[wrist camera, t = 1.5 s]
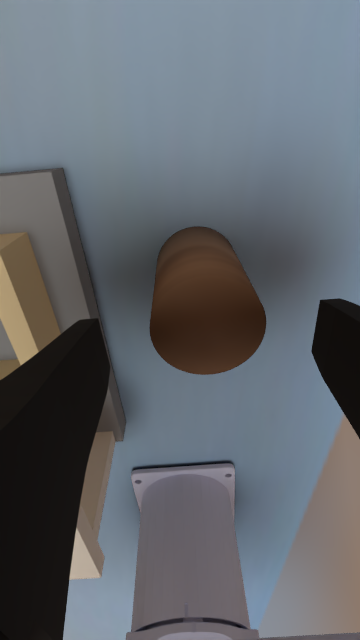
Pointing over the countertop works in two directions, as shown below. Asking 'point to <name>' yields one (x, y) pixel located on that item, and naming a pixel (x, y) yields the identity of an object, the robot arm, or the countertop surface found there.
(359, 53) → the countertop surface
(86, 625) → the countertop surface
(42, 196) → the socket stand
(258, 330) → the peg
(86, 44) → the countertop surface
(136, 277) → the countertop surface
